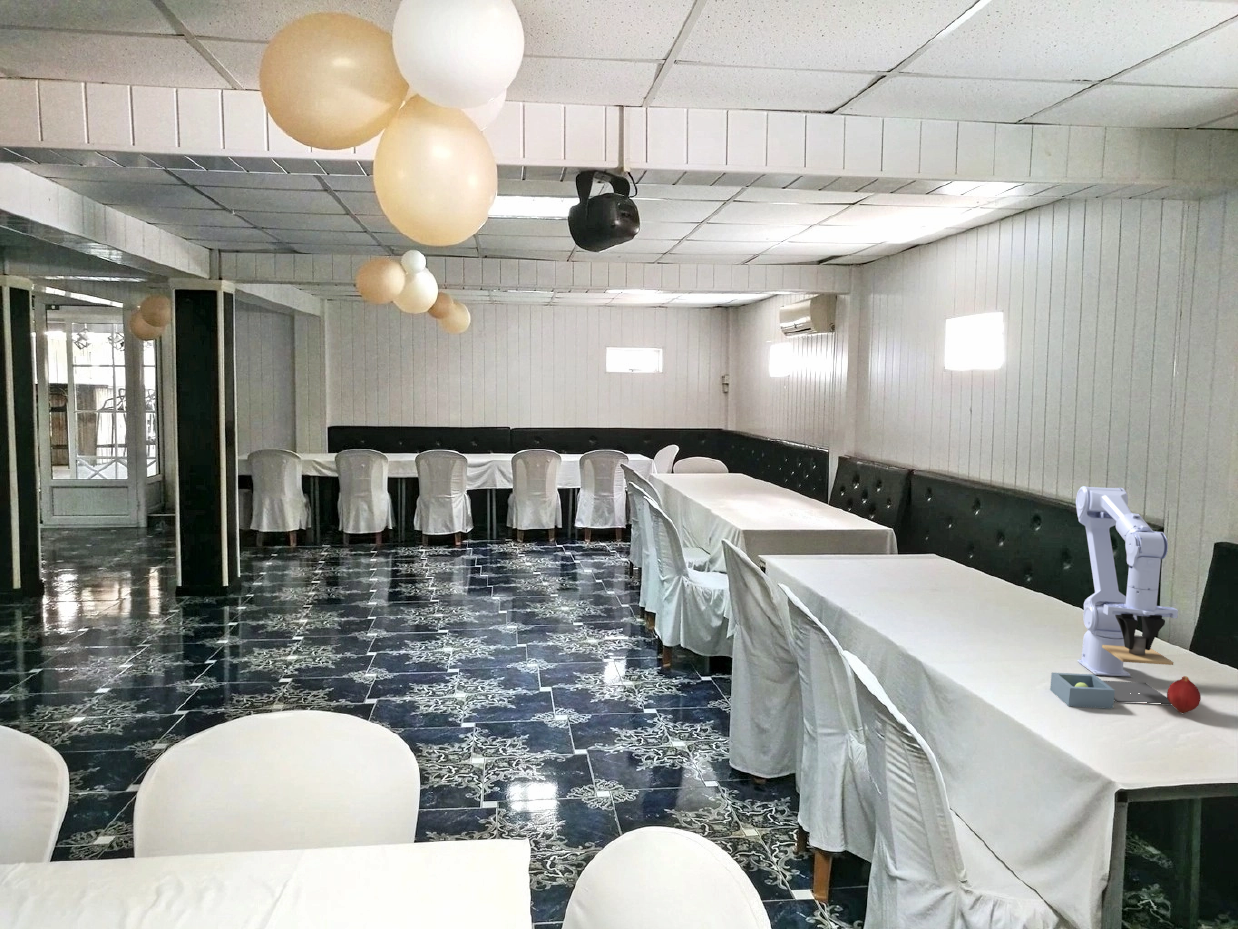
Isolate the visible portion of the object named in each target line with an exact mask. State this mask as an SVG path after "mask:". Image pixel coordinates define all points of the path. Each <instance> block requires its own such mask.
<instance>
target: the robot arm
mask: <svg viewBox="0 0 1238 929" xmlns="http://www.w3.org/2000/svg"><path fill="white" fill-rule="evenodd" d="M1075 507H1076V514H1077V518H1078V522H1079V523H1080V524H1081V525H1082V526H1084V528H1085V533H1086V539H1087V546H1088V552H1089V560H1090V566H1091V573H1092V574H1091V575H1092V579H1093V580H1092V581H1093V587H1094V593H1092V594H1091V595H1090V596H1088V597H1087V598H1086V599H1084V602H1083V615H1082V618H1083V619H1082V620H1083V624H1084V626H1085V628H1086V629H1087V630H1086V632H1085V633H1084V634H1083V638H1082V646H1081V647H1082V649H1081V659H1080V658H1079V659H1077V662H1078V663H1079V664H1080V665H1082V666H1083V667H1084V668H1086V669H1087V671H1088V670H1089V671H1090V672H1092V673H1093V674H1094V675H1095V676H1107V677H1108V676H1112V677H1131V673H1130V672H1128V671H1126V670H1125V669H1124V662H1122V661H1121V660H1120V659H1118V658H1117V657H1115V656H1114V655H1112V654H1111V653H1109V652H1108V651H1107V650H1105V649H1104V648H1102V645H1114V646H1125V647H1126V648H1128V649H1133V646H1134V635H1136V630H1137V627H1138V624H1139V621H1138V617H1140V618H1141V625H1142V627H1141V630H1142V634H1141V636H1143V637H1146V648H1145V649H1146V650H1150V648H1151V649H1152V645H1153V643H1154V641H1155V639H1156V636H1157V635H1158V633H1159V632H1160V631H1161V629H1162V628H1163V627H1164V626H1165V624H1166V620H1165V619H1164V618H1171V619H1178V616H1179V615H1178V614H1179V610H1178V608H1175V607H1171V606H1161V605H1158V595H1159V585H1160V584H1159V583H1160V574H1161V573H1160V572H1161V564H1162V563H1161V562H1162V560H1164V559H1165V558H1166V556H1167V554H1168V549H1169V542H1168V538H1167V537H1166V534H1165V532H1163V531H1157V530H1156V531H1155V530H1153V529H1152V528H1151V527H1150V525H1149V524H1148V523H1147V521H1145V520H1144V518H1143V517H1142V516H1141V515H1140V514H1139V513H1134V512H1132V511H1131V509H1130V507H1129V496H1128V493H1127V491H1126V489H1124V488H1123V487H1101V486H1100V487H1097V486H1086V485H1083V486H1081V487H1080V488H1079V489H1078V490H1077V493H1076V498H1075ZM1114 526H1115V529H1116V531H1117V533H1119V535H1120V536H1121V538H1122V539H1123V540H1124V542H1125V544H1124V545H1125V546H1124V547H1125V552H1126V563H1127V564H1126V565H1128V573H1127V574H1128V575H1127V582H1126V583H1127V584H1126V595H1124V594H1123V593H1122V592H1120V591H1119V584H1118V577H1117V570H1116V566H1115V559H1114V552H1113V546H1112V540H1111V534H1110V532H1111V531H1110V528H1113V527H1114ZM1092 673H1091V674H1092Z"/></svg>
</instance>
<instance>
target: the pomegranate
mask: <svg viewBox="0 0 1238 929" xmlns="http://www.w3.org/2000/svg"><path fill="white" fill-rule="evenodd" d="M1166 697H1167V698H1168V700H1169V702H1170V703H1171V704H1172V705H1171V706H1172V707H1173V708H1174V709H1176V711H1177V712H1178V713H1180V714H1182V713H1183V714H1186V713H1189V712H1192V711H1194V710H1195V709H1196V708H1198V707H1199V705H1200V703H1201V699H1202V698H1201V692H1200V690H1199V689H1198V687H1197V685H1195V684H1194V682H1192V681H1191V680H1190V678H1189V677H1188V676H1185V675H1184V676H1181V679H1177V680H1175V681H1173V682H1172V683H1171V684H1169V686H1168V688H1167V692H1166Z"/></svg>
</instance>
